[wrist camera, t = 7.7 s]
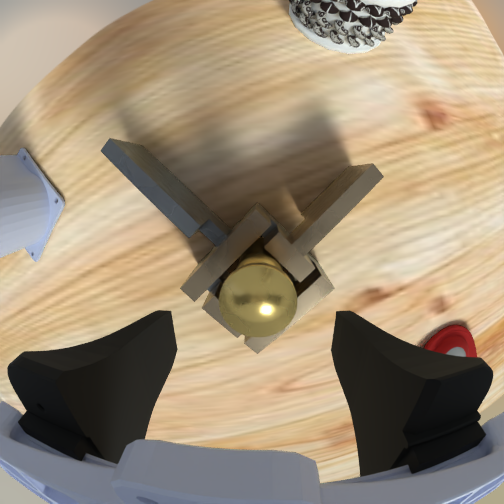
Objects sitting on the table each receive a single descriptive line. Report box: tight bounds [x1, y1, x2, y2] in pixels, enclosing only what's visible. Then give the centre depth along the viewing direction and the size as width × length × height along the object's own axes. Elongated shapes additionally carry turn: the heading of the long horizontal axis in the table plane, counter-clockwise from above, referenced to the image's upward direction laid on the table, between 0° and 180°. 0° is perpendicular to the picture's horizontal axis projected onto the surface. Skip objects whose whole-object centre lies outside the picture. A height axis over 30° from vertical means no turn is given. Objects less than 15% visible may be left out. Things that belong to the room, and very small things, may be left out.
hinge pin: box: [219, 237, 298, 337], centre depth 17 cm, size 4×4×9 cm
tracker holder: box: [424, 325, 477, 357], centre depth 22 cm, size 12×4×10 cm
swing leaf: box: [180, 164, 384, 354], centre depth 18 cm, size 13×7×5 cm, turn 136°
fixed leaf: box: [101, 138, 325, 292], centre depth 18 cm, size 16×7×5 cm, turn 46°
